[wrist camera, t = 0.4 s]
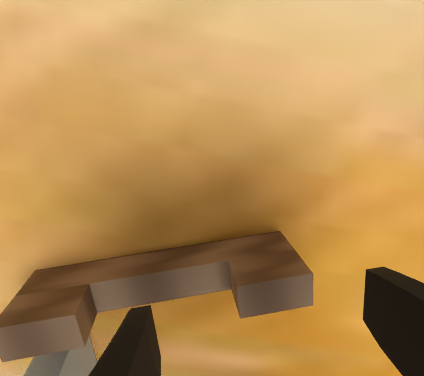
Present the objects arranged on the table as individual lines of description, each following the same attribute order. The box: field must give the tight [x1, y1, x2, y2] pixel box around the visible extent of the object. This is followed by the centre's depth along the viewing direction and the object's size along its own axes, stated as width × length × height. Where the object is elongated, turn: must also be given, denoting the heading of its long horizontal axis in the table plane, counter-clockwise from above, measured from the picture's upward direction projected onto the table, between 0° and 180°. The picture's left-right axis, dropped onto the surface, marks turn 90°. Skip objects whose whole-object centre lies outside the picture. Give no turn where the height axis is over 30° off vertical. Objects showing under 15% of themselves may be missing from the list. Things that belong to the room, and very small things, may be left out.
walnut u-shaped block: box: [0, 231, 313, 362], centre depth 17 cm, size 16×2×5 cm, turn 97°
